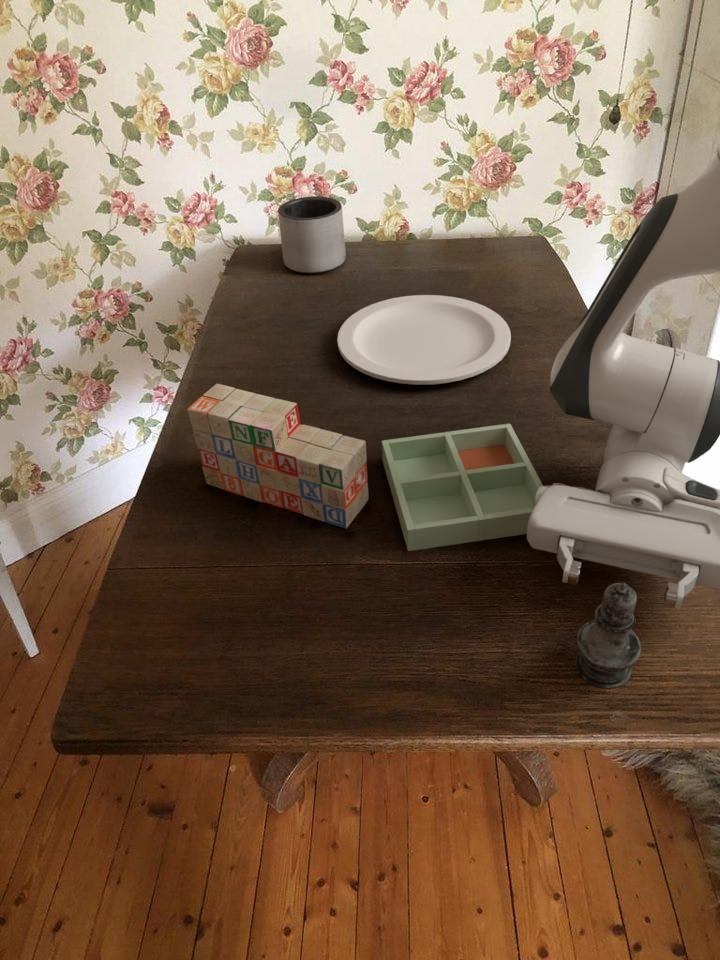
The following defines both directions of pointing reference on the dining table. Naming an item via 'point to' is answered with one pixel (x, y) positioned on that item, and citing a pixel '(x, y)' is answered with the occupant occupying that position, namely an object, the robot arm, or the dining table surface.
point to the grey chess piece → (609, 639)
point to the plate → (424, 339)
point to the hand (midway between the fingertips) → (620, 591)
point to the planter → (312, 234)
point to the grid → (460, 485)
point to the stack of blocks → (278, 455)
